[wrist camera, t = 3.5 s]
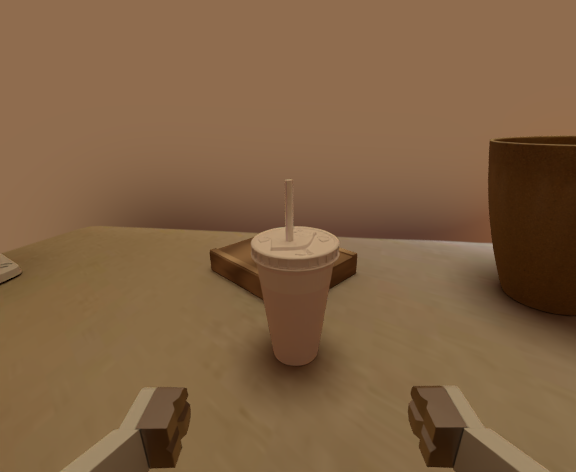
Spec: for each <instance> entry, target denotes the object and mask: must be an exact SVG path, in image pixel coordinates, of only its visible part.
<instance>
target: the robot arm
mask: <svg viewBox="0 0 576 472" xmlns="http://www.w3.org/2000/svg"><path fill="white" fill-rule="evenodd" d="M21 272H22V271H21V269H20V267H19V265H18V264H16V263H15V262H13V261H12V260H10V259H9V258H7V257H6V256H4V255H3V254H1V253H0V283H1V282H4V281H6V280H8V279H11V278H13V277H15V276H17V275H19V274H20V273H21ZM187 397H188V392H187V388H177V387H144V388H143V389H142V390H141V391H140V392H139V394H138V396H137V397H136V399H135V401H134V403H133V404H132V406H131V408H130V410H129V411H128V413H127V415H126V417H125V418H124V420H123V422H122V424H121V425H120V427H119V429H117V430H113V431H111V432H110V433H109V434H108V435H106V436H105V437H104V438H102V439H101V440H100V441H99V442H97V443H96V444H95V445H93V446H92V447H91V448H90V449H88V450H87V451H86V452H84V453H83V454H82V455H81V456H79V457H78V458H77V459H76V460H74V461H73V462H72V463H70V464H69V465H68V466H67V467H65V468H64V469H63V470H61V471H60V472H148V471H149V469H153V468H175V466H176V464H177V461H178V458H179V455H180V452H181V449H182V444H181V439H182V438H183V437H184V436H185V435H186V434H187V431H188V428H189V423H190V417H191V409H190V404H189V403H188V402H187V401H186V400H187ZM411 397H412V399H413V400H412V401H411V402H410V403H409V406H408V417H409V422H410V426H411V429H412V431H413V434H415V435H416V436H417V437H418V438H419V439H420V442H419V449H420V451H421V453H422V456H423V458H424V461H425V463H426V466H427V467H443V468H453V470H454V471H455V472H550V471H549V470H547V469H546V468H544V467H543V466H542V465H540V464H539V463H537V462H536V461H535V460H533V459H532V458H531V457H529V456H528V455H526V454H525V453H524V452H522V451H521V450H519V449H518V448H517V447H515V446H514V445H512V444H511V443H510V442H508V441H507V440H506V439H504V438H503V437H501V436H500V435H499V434H497V433H496V432H494V431H493V430H492V429H490V428H485V427H484V425H483V424H482V422H481V421H480V419H479V418H478V416H477V415H476V413H475V412H474V410H473V409H472V407H471V406H470V404H469V403H468V401H467V399H466V398H465V396H464V395H463V393H462V392H461V390H460V389H459V388H458V387H457V386H413V387H412V389H411Z"/></svg>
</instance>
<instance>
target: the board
mask: <svg viewBox="0 0 576 472" xmlns="http://www.w3.org/2000/svg"><path fill="white" fill-rule="evenodd" d="M253 238H254V237H253ZM253 238H250V239H247V240H244V241H241V242H238V243H235V244H232V245H229V246H226V247H223V248H219V249H216V248H215V249H212V250H210V260H211V268H212V270H213V271H215V272H217V273H219V274H220V275H222V276H224V277H225V278H227V279H229V280H231V281H232V282H234V283H236V284H237V285H239V286H241V287H243V288H244V289H246V290H248V291H249V292H251V293H253V294H255V295H256V296H258V297H260V298H261V299H263V294H262V289H261V284H260V280H259V274H258V268H257V263H256V262H255V261H254V260H253V259H252V258H251V241H252V239H253ZM339 253H340V255H339V257H338V259H337V261H335V262H334V263H333V269H332V276H331V281H330V286H329V289H330V288H332V287H333V286H335V285H337V284H338V283H340V282H342V281H343V280H345V279H347V278H348V277H350V276H352V275H353V274H355V273H356V265H357V253H354V252H351V251H348V250H345V249H342V248H339Z"/></svg>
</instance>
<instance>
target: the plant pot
mask: <svg viewBox="0 0 576 472" xmlns="http://www.w3.org/2000/svg"><path fill="white" fill-rule="evenodd" d="M488 193H489V194H488V196H489V215H490V226H491V235H492V243H493V250H494V256H495V261H496V266H497V271H498V275H499V280H500V284H501V287H502V289H503V291H504V292H505V293H506V294H507V295H508V296H510V297H511V298H513V299H514V300H516V301H518V302H520V303H522V304H524V305H526V306H529V307H532V308H535V309H538V310H541V311H545V312H549V313H554V314H561V315H576V136H534V137H509V138H497V139H491V140H490V147H489V173H488Z"/></svg>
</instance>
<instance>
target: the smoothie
mask: <svg viewBox="0 0 576 472" xmlns="http://www.w3.org/2000/svg"><path fill="white" fill-rule="evenodd" d="M285 224H286V225H285V227H281V228H275V229H270V230H267V231H264V232H262V233H260V234H258V235H256V236H255V237H254V238H253V239H252V241H251V258H252V259H253V260H254V261H255V262H256V263H257V268H258V274H259V280H260V284H261V289H262V294H263V300H264V305H265V310H266V315H267V321H268V326H269V331H270V337H271V342H272V347H273V352H274V355H275V357H276V358H277V359H278V360H279V361H280V362H282V363H284V364H287V365H291V366H301V365H305V364H308V363H310V362H311V361H313V360H314V359H315V357H316V356H317V353H318V348H319V342H320V337H321V331H322V326H323V320H324V314H325V309H326V303H327V298H328V292H329V286H330V281H331V276H332V269H333V263H334V262H335V261H337V259H338V257H339V255H340V253H339V240H338V239H337V237H336V236H334V235H333V234H331V233H329V232H327V231H324V230H320V229H316V228H310V227H293V180H292V179H287V180H285Z"/></svg>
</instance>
